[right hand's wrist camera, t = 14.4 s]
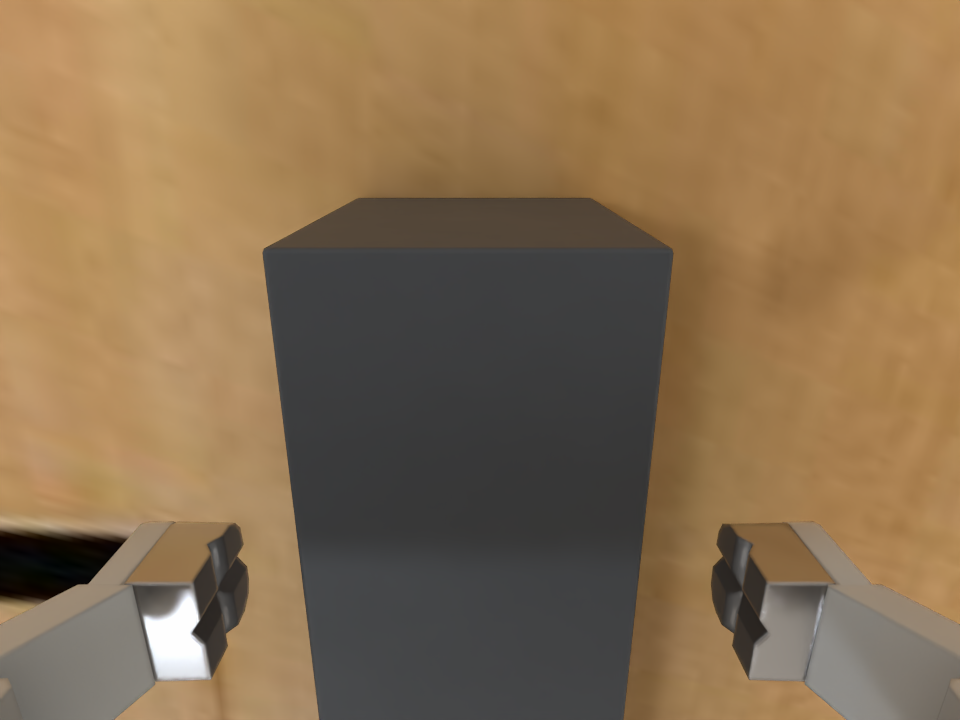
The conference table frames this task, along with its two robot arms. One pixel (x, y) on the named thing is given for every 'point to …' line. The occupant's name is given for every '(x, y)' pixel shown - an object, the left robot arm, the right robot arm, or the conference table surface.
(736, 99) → the conference table surface
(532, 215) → the post
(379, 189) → the conference table surface
